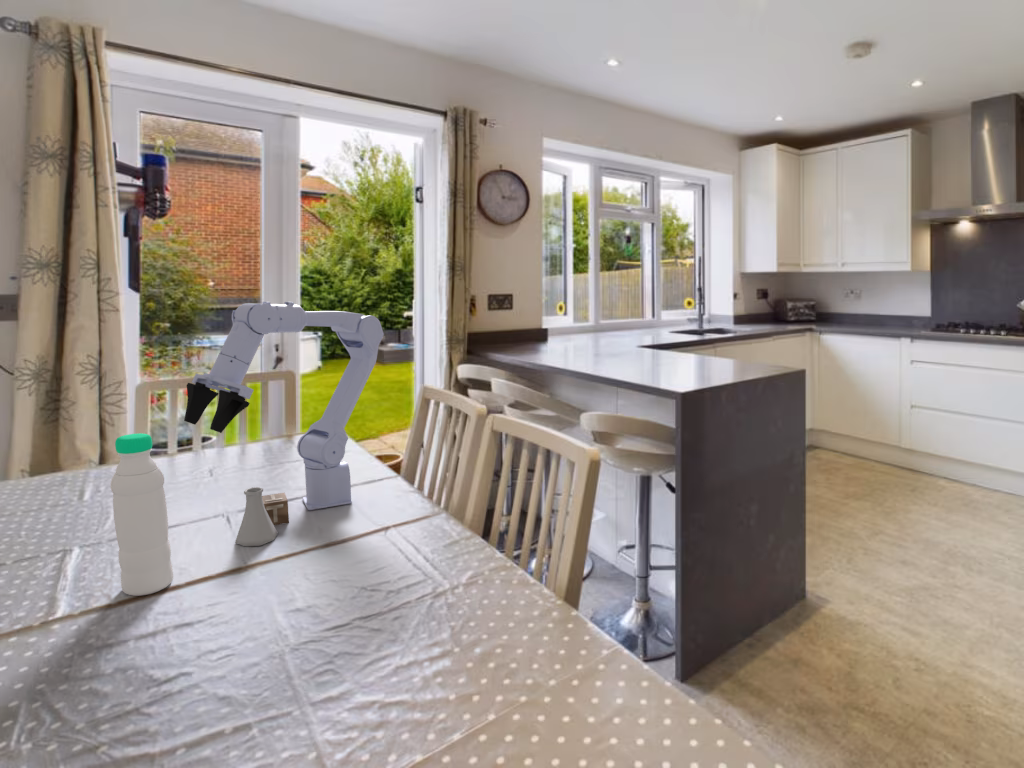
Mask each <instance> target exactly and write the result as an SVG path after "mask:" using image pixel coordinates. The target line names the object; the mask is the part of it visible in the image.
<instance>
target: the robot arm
mask: <svg viewBox="0 0 1024 768" xmlns="http://www.w3.org/2000/svg"><path fill="white" fill-rule="evenodd" d="M231 321H232V326H231V329H230V330H229V332H228V335H227V337H226V339H225V340H224V342H223V345H222V347H221V349H220V351H219V353H218V355H217V357H216V358H215V362H214V363H213V366H212V367H211V370H210V372H209V373H207V372H204V373H203V374H201V373H195V374H194V376H193V379H192V381H191V382H187V384H186V391H187V403H186V409H185V412H184V413H185V414H184V422H186V423H190V424H192V425H197V423H198V422H199V421H200V419H201V417H202V416H203V413H204V412H205V410H206V409H207V407H208V406H209V405H210V403H212V401H213V400H214V399H216V398H217V397H218V401H217V407H216V411H215V414H214V415H213V418H212V421H211V424H210V428H209V429H210V430H212V431H215V432H218V433H220V434H222V433H223V431H225V429H226V428H227V426H228V425H229V424H230V423H231V422H232V420H233V419H235V417H237V416H238V415H239V413H241V412H243V410H245V409H246V408H248V407H249V406H250V404H251V403H250V402H249V401H246V399H247V400H250V399H251V396H252V395H253V393H254V389H253V388H251V387H249V386H247V385H242V383H243V381H244V378H245V376H246V375H247V372H248V371H249V368H250V366H251V364H252V361H253V359H254V357H255V355H256V353H257V351H258V350H259V346H260V344H261V343H262V341H263V337H264V336H265V335H268V334H271V333H272V334H273V333H275V334H276V333H278V334H279V333H281V334H282V333H300V332H302V331H303V330H304V328H305V327H329V328H330V329H331V331H332V332H335V333H336V335H337V338H338V339H339V340H340V342H341V344H342V345H343V346H344V348H345V350H346V352H347V353H348V355H349V356H350V360H349V361H348V364H347V366H346V367H345V369H344V372H343V373H342V376H341V377H340V380H339V382H338V384H337V386H336V388H335V390H334V392H333V394H332V396H331V398H330V400H329V402H328V404H327V406H326V407H325V410H324V412H323V414H322V417H320V419H319V420H317V421H315V422H313V423H312V424H310V426H309V428H308V430H306V432H305V433H303V435H301V437H300V438H299V439H298V441H297V447H296V450H297V453H298V455H299V457H301V458H302V459H303V464H304V476H305V477H304V478H305V494H306V496H303V497H302V501H303V503H304V505H305V507H306V509H307V510H308V511H314V510H318V509H319V510H320V509H325V508H331V507H337V506H338V507H339V506H343V505H348V504H352V503H353V500H352V492H351V491H352V489H351V488H352V486H351V472H350V467H349V462H347V461H342V460H343V459H344V457H345V454H346V447H347V442H348V441H349V436H348V434H347V432H346V430H345V428H346V425H347V424H348V422H349V419H350V418H351V415H352V413H353V411H354V410H355V409H354V408H355V407H356V404H357V403H358V401H359V399H360V396H361V394H362V392H363V390H364V388H365V386H366V383H367V382H368V380H369V377H370V375H371V373H372V371H373V369H374V367H375V366H376V363H377V359H378V353H379V345H380V343H381V341H382V339H383V337H384V335H385V333H384V331H383V327H382V324H381V321H380V320H379V319H378V318H377V317H376V316H375V315H365V314H363V313H358V312H357V313H356V312H350V311H344V310H342V311H341V310H340V311H339V310H319V311H318V310H317V311H316V310H314V311H313V310H312V311H311V310H310V311H309V310H308V311H307V310H304V308H302V306H300V305H298V304H295V302H294V301H284V304H280V303H271V301H262V303H254V302H253V303H242V304H241V305H239V306H238V307H237V308H236V309H235V310H233V309H232V313H231ZM221 387H222V388H221ZM214 390H215V391H214ZM217 391H218V392H217Z"/></svg>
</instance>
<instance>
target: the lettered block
mask: <svg viewBox="0 0 1024 768" xmlns="http://www.w3.org/2000/svg"><path fill="white" fill-rule="evenodd" d="M262 500H263V503H264V507H265V509H266V511H267V513H268V515H269V517H270V519H271V521H272V523H273V525H274V526H279V525H285V524H289V523H290V520H289V519H290V517H289V515H290V514H289V500H288V498H287V495H286V493H285V492H280V493H273V494H266V495H262Z"/></svg>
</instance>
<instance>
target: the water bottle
mask: <svg viewBox="0 0 1024 768" xmlns="http://www.w3.org/2000/svg"><path fill="white" fill-rule="evenodd" d="M114 443H115V445H114V446H115V451H116V454H117V455H118V457H120V458H119V459H120V460H119V463H118V464H117V466H116V467H115V472H114V474H113V476H112V478H111V480H110V489H111V490H110V491H111V492H112V509H113V518H114V519H113V520H114V526H115V527H114V528H115V535H116V540H117V545H118V564H119V567H120V583H121V585H120V587H121V590H122V591H123V593H124V594H126V595H129V596H134V597H138V596H139V597H140V596H146V595H151V594H154V593H157V592H160V591H163V590H164V589H165V588H166V587H168V586H169V585H170V584H171V583H172V582H173V580H174V569H173V564H172V560H171V557H172V556H171V555H172V549H171V543H170V540H169V517H168V505H167V501H166V499H167V498H166V493H165V488H164V484H165V477H164V474H163V472H162V471H161V469H160V468H159V466H157V463H156V462H155V460H154V459H153V458H152V457H151V454H150V453H151V452H152V450H153V449H152V448H153V439H152V436H151V435H150V434H147V433H140V432H139V433H129V434H125V435H121V436H118V437H117V438H116V439H115V442H114Z"/></svg>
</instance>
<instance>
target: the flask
mask: <svg viewBox="0 0 1024 768" xmlns="http://www.w3.org/2000/svg"><path fill="white" fill-rule="evenodd" d="M263 492H264V488H263V487H260V486H259V487H258V486H256V487H255V486H254V487H249V488H246V489H245V490H244V491H243V494H244V495H245V499H246V500H245V501H246V503H245V510H244V513H243V516H242V520H241V524H240V527H239V530H238V533H237V535H236V537H235V538H236V539H235V542H234V543H235V544H237V545H240V546H243V547H258V546H259V547H260V546H263V545H265V544H267V543H270V542H272V541H274V540H275V539H276V538H277V536H278V534H279V532H278V530H277V529H276V527H275V525H273V523H272V521H271V519H270V517H269V515H268V513H267V511H266V509H265V507H264V503H263V500H262V496H263Z"/></svg>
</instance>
